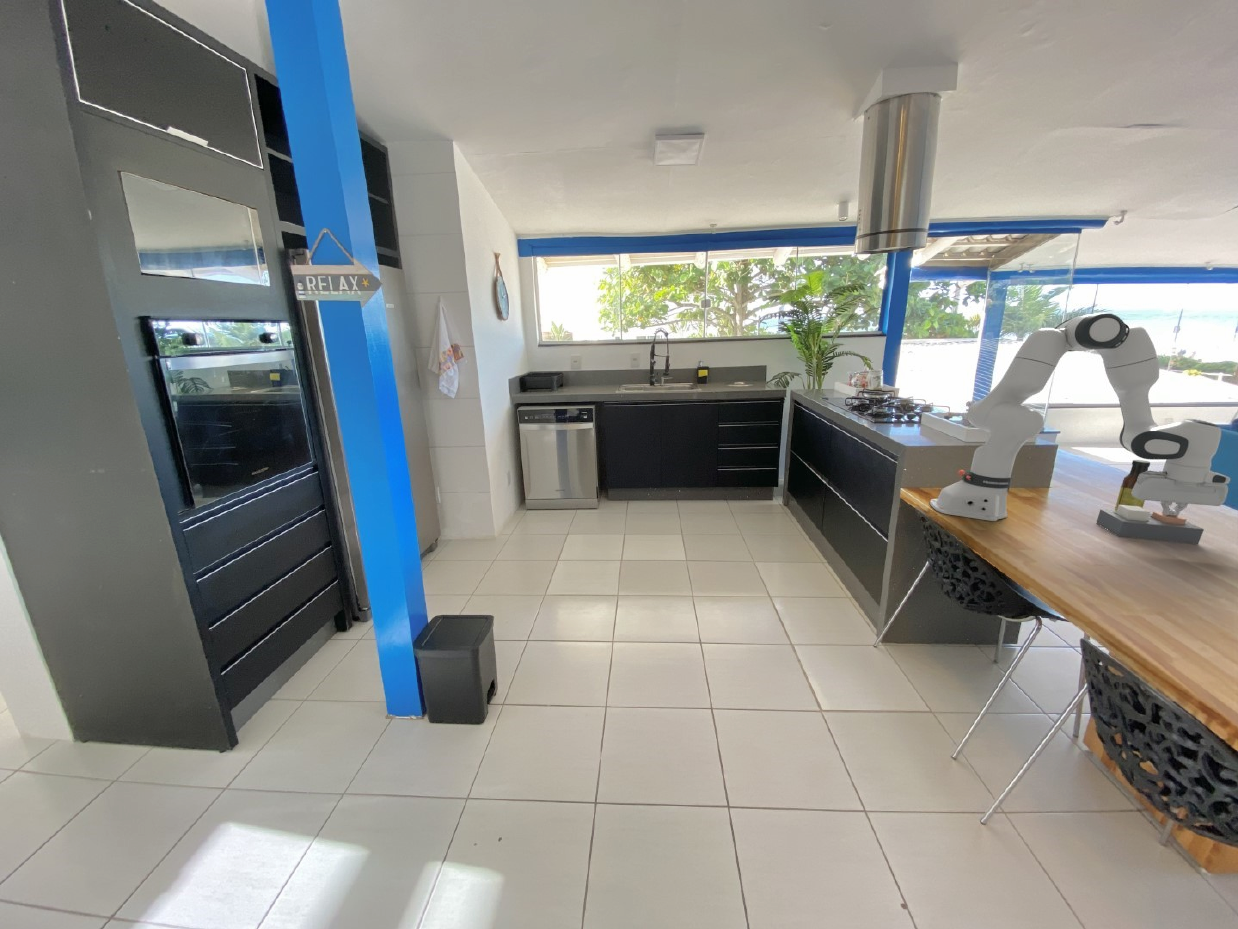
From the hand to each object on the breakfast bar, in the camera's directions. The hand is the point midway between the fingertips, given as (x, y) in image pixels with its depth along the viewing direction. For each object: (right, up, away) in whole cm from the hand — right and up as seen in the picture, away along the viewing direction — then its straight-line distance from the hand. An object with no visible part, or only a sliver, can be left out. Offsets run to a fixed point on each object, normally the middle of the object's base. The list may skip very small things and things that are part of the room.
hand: (1169, 515), depth 145 cm
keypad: (-4, -6, +3) cm, 8 cm away
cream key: (-9, -2, +3) cm, 9 cm away
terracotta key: (0, -4, +1) cm, 4 cm away
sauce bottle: (+4, -2, +17) cm, 17 cm away
